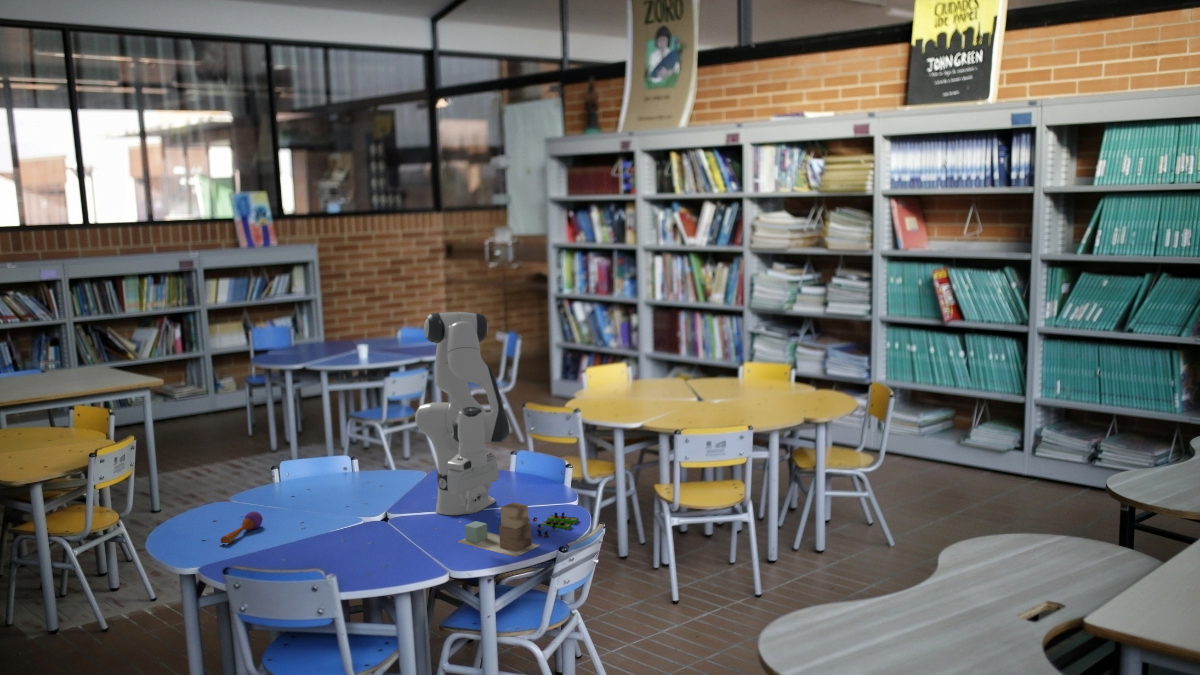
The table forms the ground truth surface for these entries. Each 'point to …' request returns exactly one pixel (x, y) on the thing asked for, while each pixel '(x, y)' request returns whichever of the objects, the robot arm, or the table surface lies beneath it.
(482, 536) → the sage cube
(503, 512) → the oak middle block
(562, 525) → the toy garden set
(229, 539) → the orange and purple maraca
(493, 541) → the birch board
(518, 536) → the walnut base block
